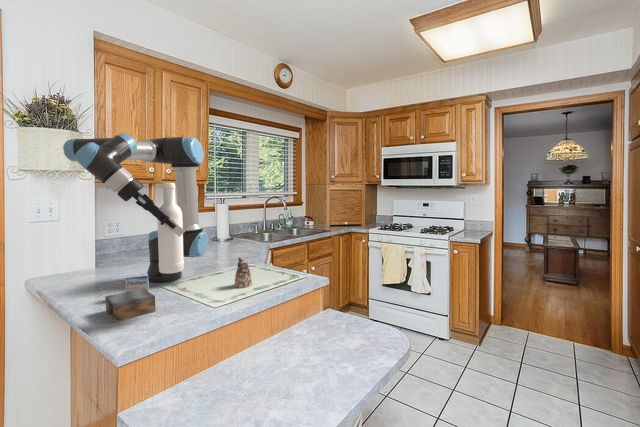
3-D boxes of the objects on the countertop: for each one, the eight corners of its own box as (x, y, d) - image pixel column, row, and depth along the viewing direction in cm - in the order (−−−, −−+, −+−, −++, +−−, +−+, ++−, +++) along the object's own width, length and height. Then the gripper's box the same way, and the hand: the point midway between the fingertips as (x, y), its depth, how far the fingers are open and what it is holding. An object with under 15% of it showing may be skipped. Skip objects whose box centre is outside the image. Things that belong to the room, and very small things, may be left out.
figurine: (239, 288, 143) (238, 260, 142) (231, 285, 148) (231, 258, 147) (254, 285, 147) (253, 258, 146) (246, 282, 153) (245, 255, 152)
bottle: (165, 275, 111) (162, 182, 108) (154, 270, 116) (151, 182, 113) (188, 270, 117) (186, 183, 114) (177, 266, 122) (174, 182, 119)
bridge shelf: (143, 303, 126) (142, 288, 126) (155, 311, 118) (154, 295, 117) (106, 311, 118) (105, 296, 117) (116, 321, 109) (115, 304, 109)
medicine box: (126, 300, 129) (124, 278, 129) (126, 297, 133) (125, 275, 132) (149, 297, 133) (148, 275, 132) (149, 293, 137) (147, 272, 136)
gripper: (118, 192, 116) (171, 236, 125) (112, 194, 98) (175, 245, 107) (135, 177, 118) (186, 221, 127) (133, 176, 100) (192, 227, 109)
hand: (181, 232), depth 117 cm, fingers closed on bottle, 8 cm apart
